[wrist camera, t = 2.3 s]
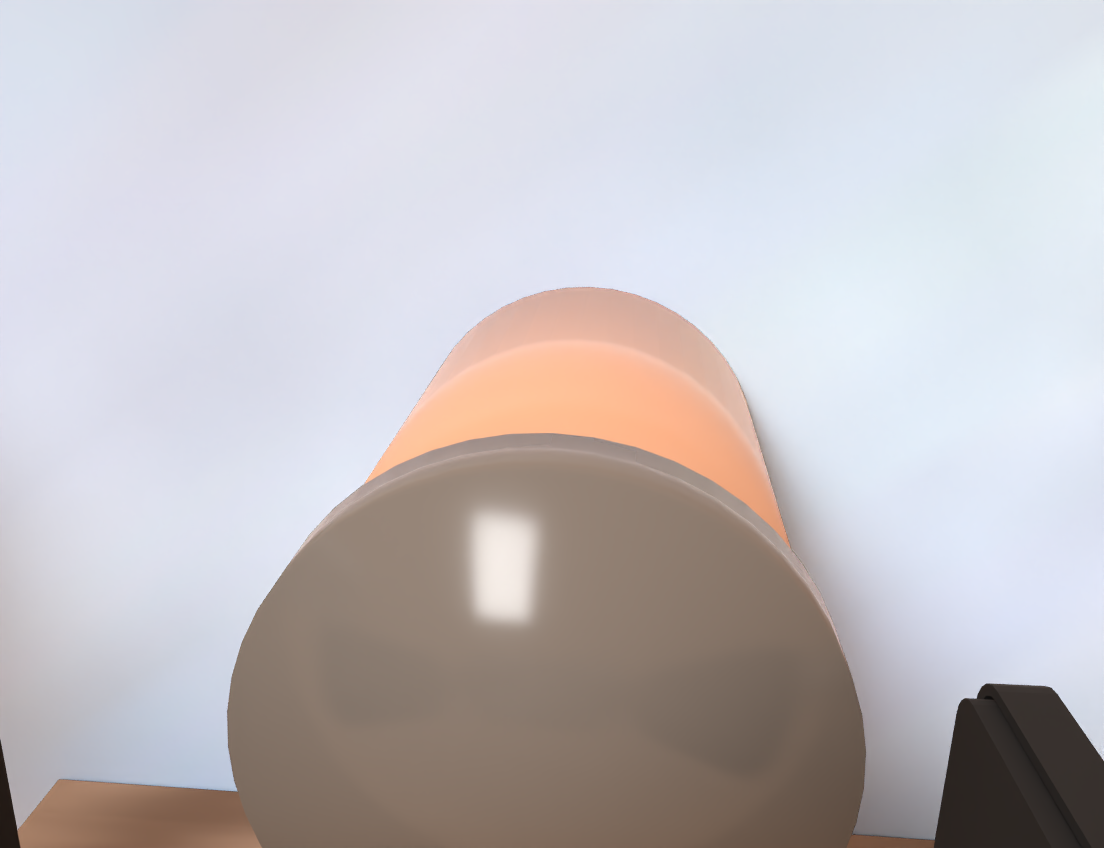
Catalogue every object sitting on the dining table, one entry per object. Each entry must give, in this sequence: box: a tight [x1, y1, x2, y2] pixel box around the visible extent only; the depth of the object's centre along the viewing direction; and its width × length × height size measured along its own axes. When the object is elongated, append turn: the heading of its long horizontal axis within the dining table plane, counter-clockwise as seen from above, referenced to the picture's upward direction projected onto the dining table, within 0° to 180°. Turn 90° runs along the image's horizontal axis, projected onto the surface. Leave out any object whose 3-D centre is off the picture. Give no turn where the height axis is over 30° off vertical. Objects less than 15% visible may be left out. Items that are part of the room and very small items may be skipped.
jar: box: [227, 287, 866, 848], centre depth 15 cm, size 6×6×9 cm
